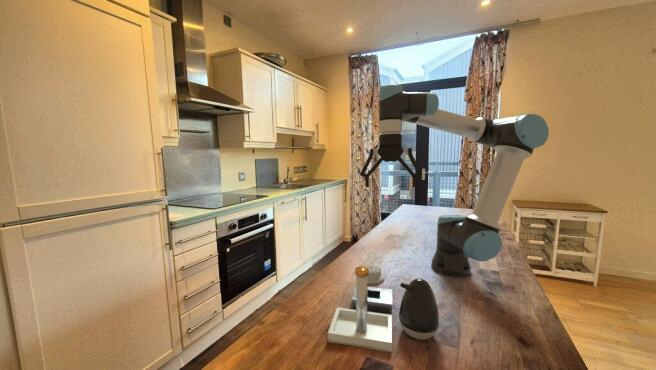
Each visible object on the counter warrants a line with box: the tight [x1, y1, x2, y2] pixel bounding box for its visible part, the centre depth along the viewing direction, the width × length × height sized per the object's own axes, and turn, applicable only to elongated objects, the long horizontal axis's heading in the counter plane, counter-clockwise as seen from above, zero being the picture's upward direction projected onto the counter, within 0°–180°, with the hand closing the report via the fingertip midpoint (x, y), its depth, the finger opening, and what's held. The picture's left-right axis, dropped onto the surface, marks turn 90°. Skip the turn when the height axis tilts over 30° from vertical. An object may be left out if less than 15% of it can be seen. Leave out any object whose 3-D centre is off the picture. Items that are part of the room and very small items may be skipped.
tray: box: [327, 306, 393, 353], centre depth 74 cm, size 16×12×2 cm
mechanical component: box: [363, 264, 385, 285], centre depth 106 cm, size 10×4×10 cm
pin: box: [354, 265, 369, 333], centre depth 73 cm, size 4×4×17 cm
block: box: [350, 285, 393, 316], centre depth 85 cm, size 12×9×4 cm
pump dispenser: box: [398, 278, 440, 341], centre depth 73 cm, size 10×10×15 cm
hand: (390, 196), depth 93 cm, fingers open, 13 cm apart
